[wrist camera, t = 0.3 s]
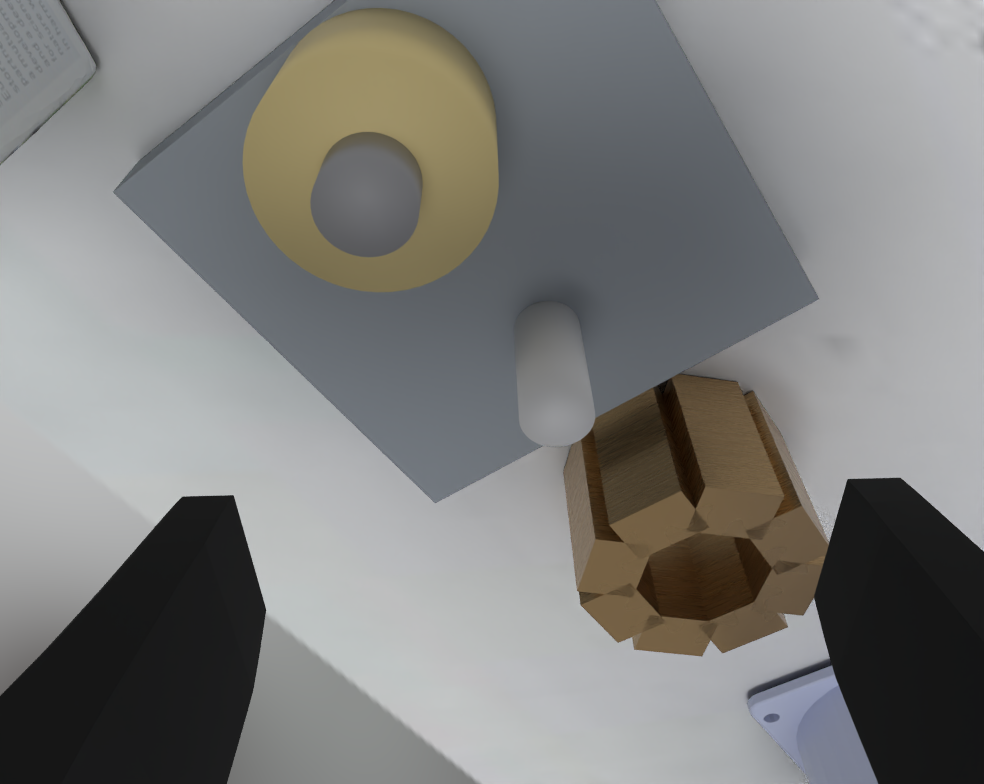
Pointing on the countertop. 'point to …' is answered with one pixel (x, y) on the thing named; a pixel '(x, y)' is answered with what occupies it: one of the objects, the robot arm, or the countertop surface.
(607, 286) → the carrier plate
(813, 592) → the brown segmented ring
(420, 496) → the countertop surface
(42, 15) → the syrup box
